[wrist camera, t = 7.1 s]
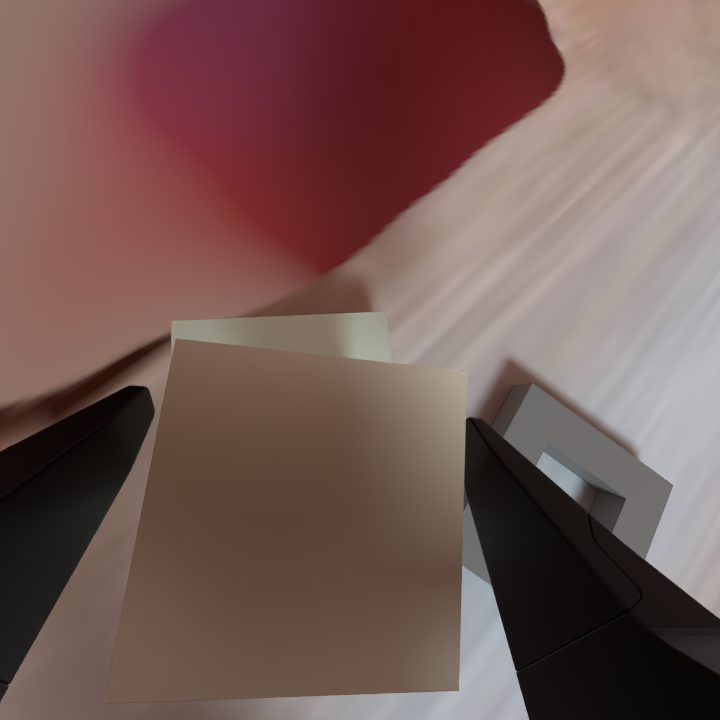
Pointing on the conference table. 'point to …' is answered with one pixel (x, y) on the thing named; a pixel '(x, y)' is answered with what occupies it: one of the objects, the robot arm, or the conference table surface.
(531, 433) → the pocket holder
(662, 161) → the conference table surface
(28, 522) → the robot arm
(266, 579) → the cream block
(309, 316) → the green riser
